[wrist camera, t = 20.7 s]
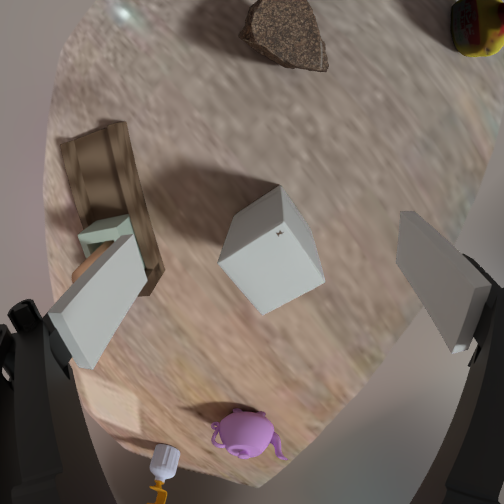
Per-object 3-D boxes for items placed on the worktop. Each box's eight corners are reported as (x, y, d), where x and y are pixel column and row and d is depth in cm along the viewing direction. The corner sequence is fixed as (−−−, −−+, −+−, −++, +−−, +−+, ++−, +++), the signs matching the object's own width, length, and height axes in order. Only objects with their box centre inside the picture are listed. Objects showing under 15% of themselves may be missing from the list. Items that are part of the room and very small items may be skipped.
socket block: (96, 220, 45) (77, 234, 40) (133, 212, 44) (116, 227, 39) (112, 267, 49) (97, 284, 44) (149, 262, 48) (135, 281, 43)
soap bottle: (168, 442, 82) (152, 502, 60) (185, 453, 86) (172, 511, 64) (151, 443, 85) (134, 499, 63) (167, 454, 88) (153, 508, 66)
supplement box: (231, 215, 45) (213, 262, 32) (280, 183, 43) (283, 218, 29) (265, 259, 48) (261, 318, 35) (312, 231, 46) (327, 283, 32)
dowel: (103, 237, 44) (67, 270, 34) (122, 233, 44) (88, 268, 34) (111, 258, 46) (78, 295, 36) (130, 256, 46) (99, 294, 36)
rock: (347, 63, 30) (297, 90, 28) (294, 73, 38) (245, 99, 36) (306, -21, 23) (244, -9, 20) (257, 4, 31) (201, 23, 28)
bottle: (470, 66, 30) (554, 64, 12) (440, 48, 30) (523, 31, 12) (476, 14, 25) (550, -4, 7) (447, -5, 25) (518, -36, 7)
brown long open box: (73, 141, 41) (44, 149, 34) (126, 121, 39) (99, 125, 32) (114, 275, 52) (95, 298, 45) (165, 269, 51) (149, 295, 44)
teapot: (294, 408, 67) (294, 450, 56) (282, 433, 73) (281, 470, 62) (214, 398, 67) (206, 440, 56) (212, 424, 73) (205, 461, 62)
